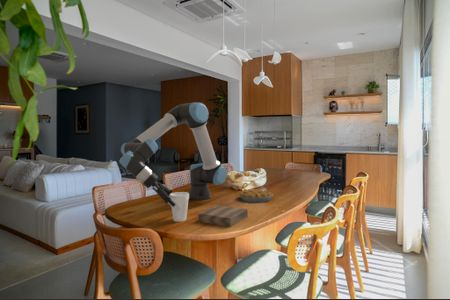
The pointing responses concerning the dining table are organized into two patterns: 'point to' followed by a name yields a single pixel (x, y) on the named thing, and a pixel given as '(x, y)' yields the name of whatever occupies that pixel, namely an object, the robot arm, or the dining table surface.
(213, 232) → the dining table surface
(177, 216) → the foam cup
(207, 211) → the walnut riser
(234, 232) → the dining table surface
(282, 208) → the dining table surface
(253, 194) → the pie
